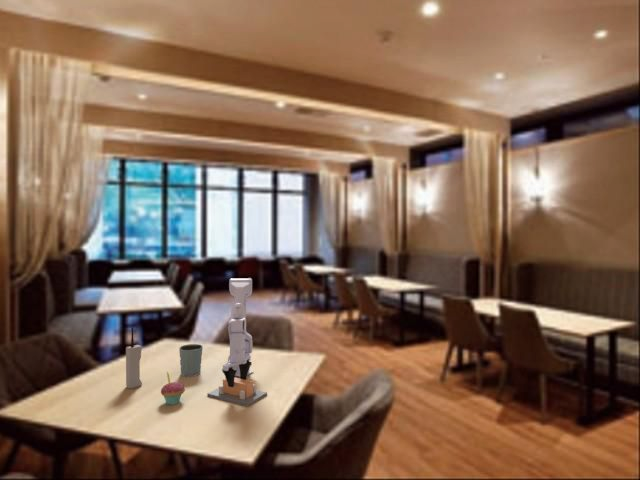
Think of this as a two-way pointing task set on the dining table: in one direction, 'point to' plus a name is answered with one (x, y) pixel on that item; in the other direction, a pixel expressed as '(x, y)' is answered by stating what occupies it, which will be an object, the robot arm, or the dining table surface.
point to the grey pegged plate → (236, 399)
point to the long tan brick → (239, 387)
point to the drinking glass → (190, 359)
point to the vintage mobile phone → (133, 365)
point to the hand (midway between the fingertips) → (237, 383)
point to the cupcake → (172, 391)
